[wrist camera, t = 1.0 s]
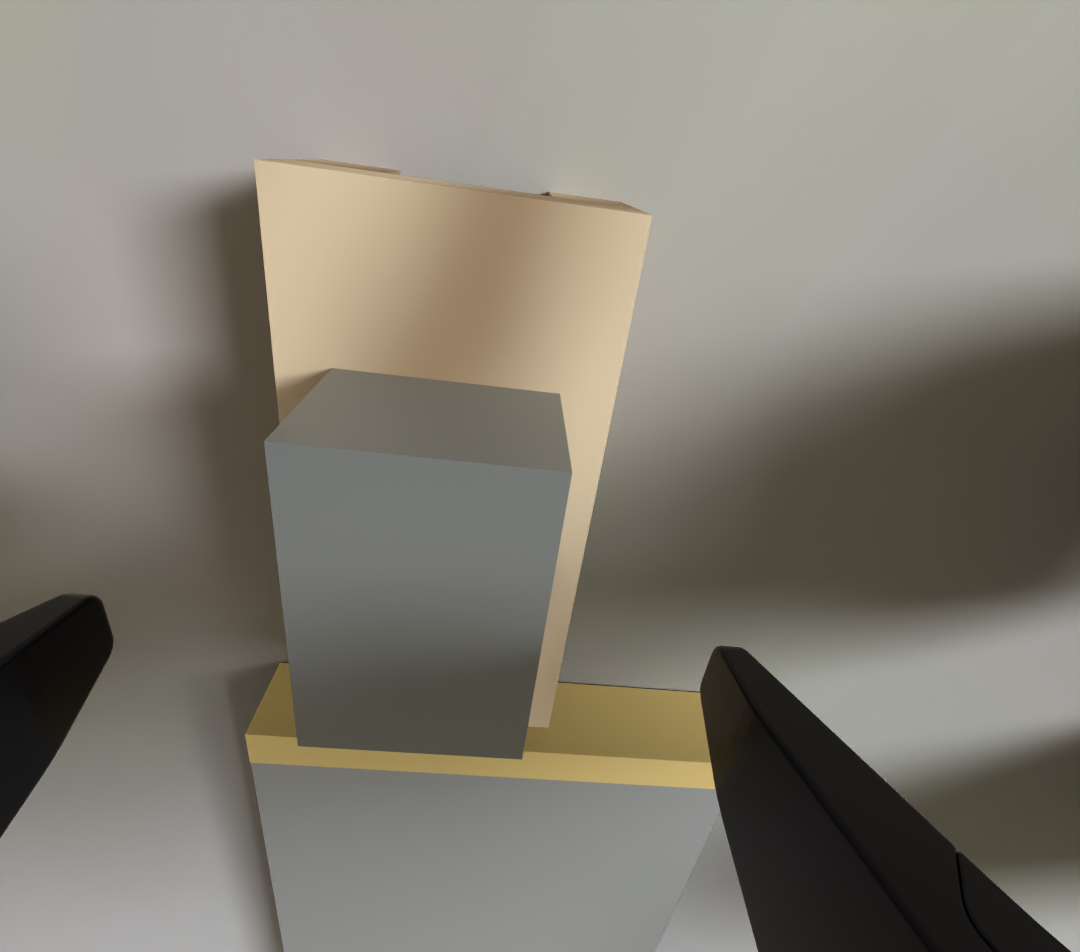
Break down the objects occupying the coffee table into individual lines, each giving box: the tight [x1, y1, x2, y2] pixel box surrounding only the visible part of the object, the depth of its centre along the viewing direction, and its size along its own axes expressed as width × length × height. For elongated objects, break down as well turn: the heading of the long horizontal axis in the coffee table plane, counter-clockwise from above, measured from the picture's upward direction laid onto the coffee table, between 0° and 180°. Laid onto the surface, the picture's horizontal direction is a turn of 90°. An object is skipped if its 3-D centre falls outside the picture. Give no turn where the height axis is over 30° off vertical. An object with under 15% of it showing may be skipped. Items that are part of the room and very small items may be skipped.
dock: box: [245, 663, 720, 952], centre depth 22 cm, size 14×18×2 cm
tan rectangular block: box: [254, 159, 652, 728], centre depth 13 cm, size 6×12×4 cm, turn 173°
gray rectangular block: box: [264, 368, 572, 760], centre depth 10 cm, size 4×6×3 cm, turn 173°
